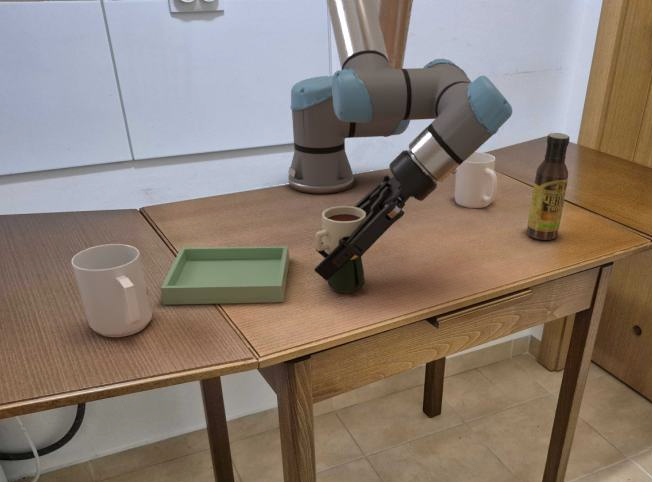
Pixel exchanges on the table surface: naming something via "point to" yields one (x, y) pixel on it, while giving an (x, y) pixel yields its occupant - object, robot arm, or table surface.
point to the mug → (113, 289)
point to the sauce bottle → (549, 190)
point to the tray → (227, 275)
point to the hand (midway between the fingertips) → (321, 264)
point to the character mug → (335, 228)
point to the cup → (476, 181)
